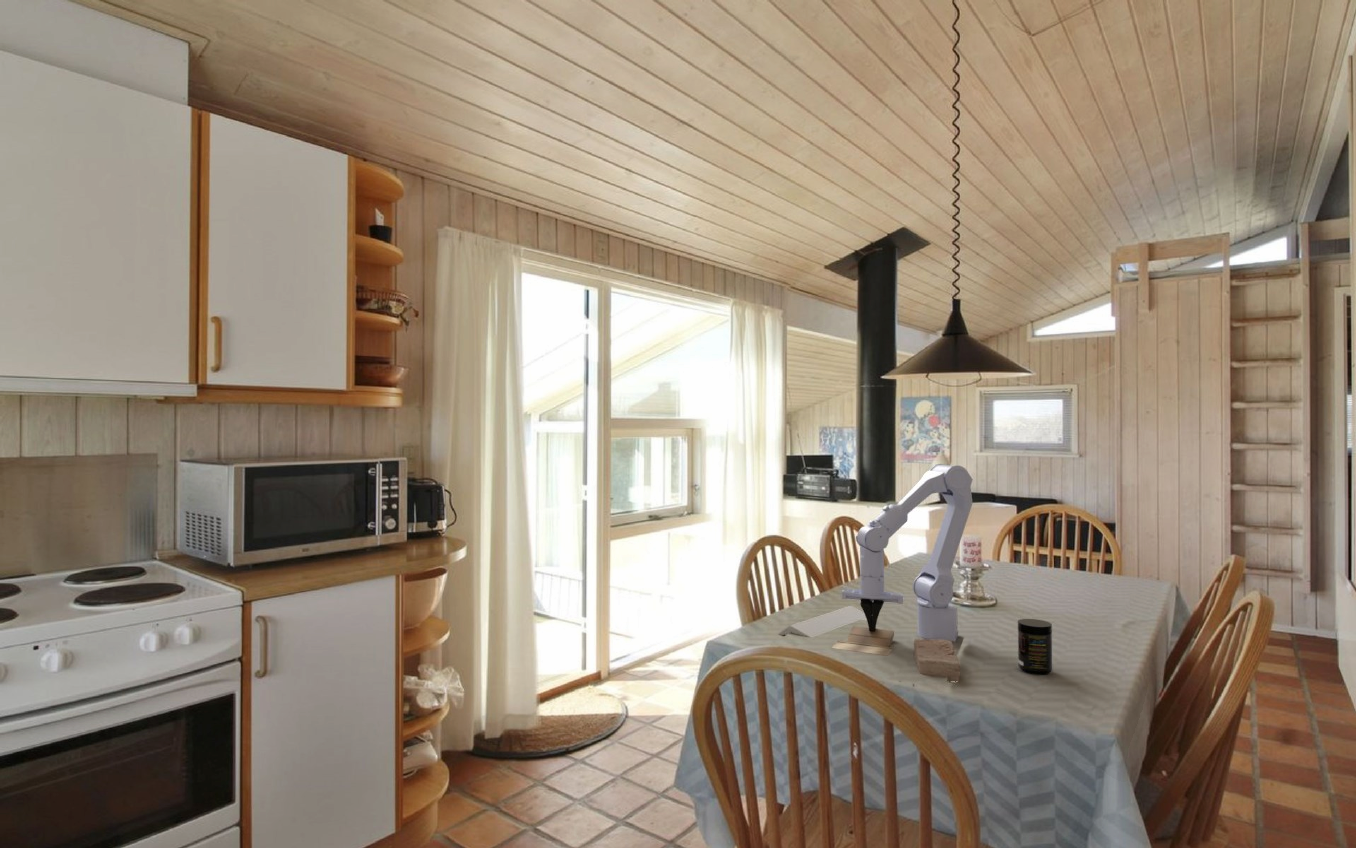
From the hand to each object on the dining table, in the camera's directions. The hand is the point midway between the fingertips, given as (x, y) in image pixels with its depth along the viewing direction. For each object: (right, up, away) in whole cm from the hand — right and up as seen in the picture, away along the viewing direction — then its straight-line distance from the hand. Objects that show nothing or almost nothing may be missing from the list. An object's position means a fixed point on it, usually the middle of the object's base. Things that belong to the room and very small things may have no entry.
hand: (872, 630), depth 178 cm
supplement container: (+30, -3, -21) cm, 37 cm away
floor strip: (-5, -3, -8) cm, 10 cm away
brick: (+9, -4, -19) cm, 21 cm away
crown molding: (-8, -4, +14) cm, 17 cm away
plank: (-1, -2, -2) cm, 3 cm away
